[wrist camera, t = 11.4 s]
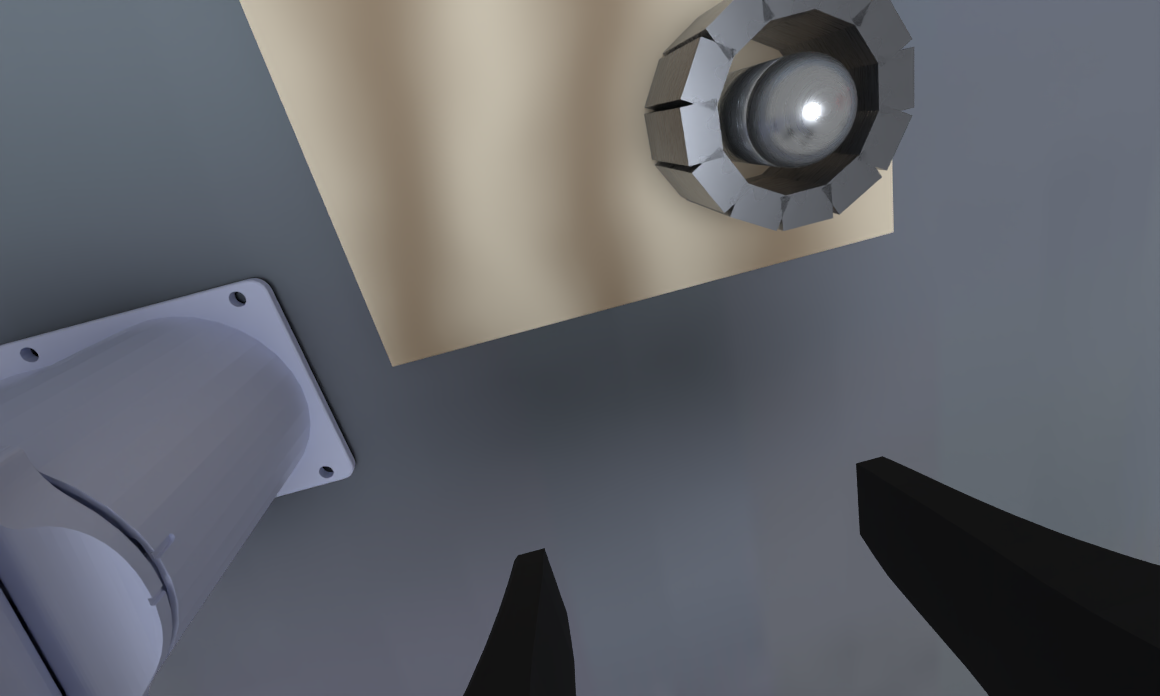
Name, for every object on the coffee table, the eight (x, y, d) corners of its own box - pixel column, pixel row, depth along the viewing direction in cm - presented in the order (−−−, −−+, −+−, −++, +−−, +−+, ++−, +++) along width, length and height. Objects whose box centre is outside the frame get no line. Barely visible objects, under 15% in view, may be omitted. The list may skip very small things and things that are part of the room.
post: (702, 170, 17) (775, 184, 12) (689, 83, 16) (762, 60, 11) (780, 149, 17) (883, 154, 12) (772, 60, 16) (880, 29, 12)
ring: (664, 228, 18) (702, 252, 14) (629, 33, 16) (663, 1, 12) (832, 184, 18) (914, 196, 14) (821, -17, 16) (914, -63, 12)
